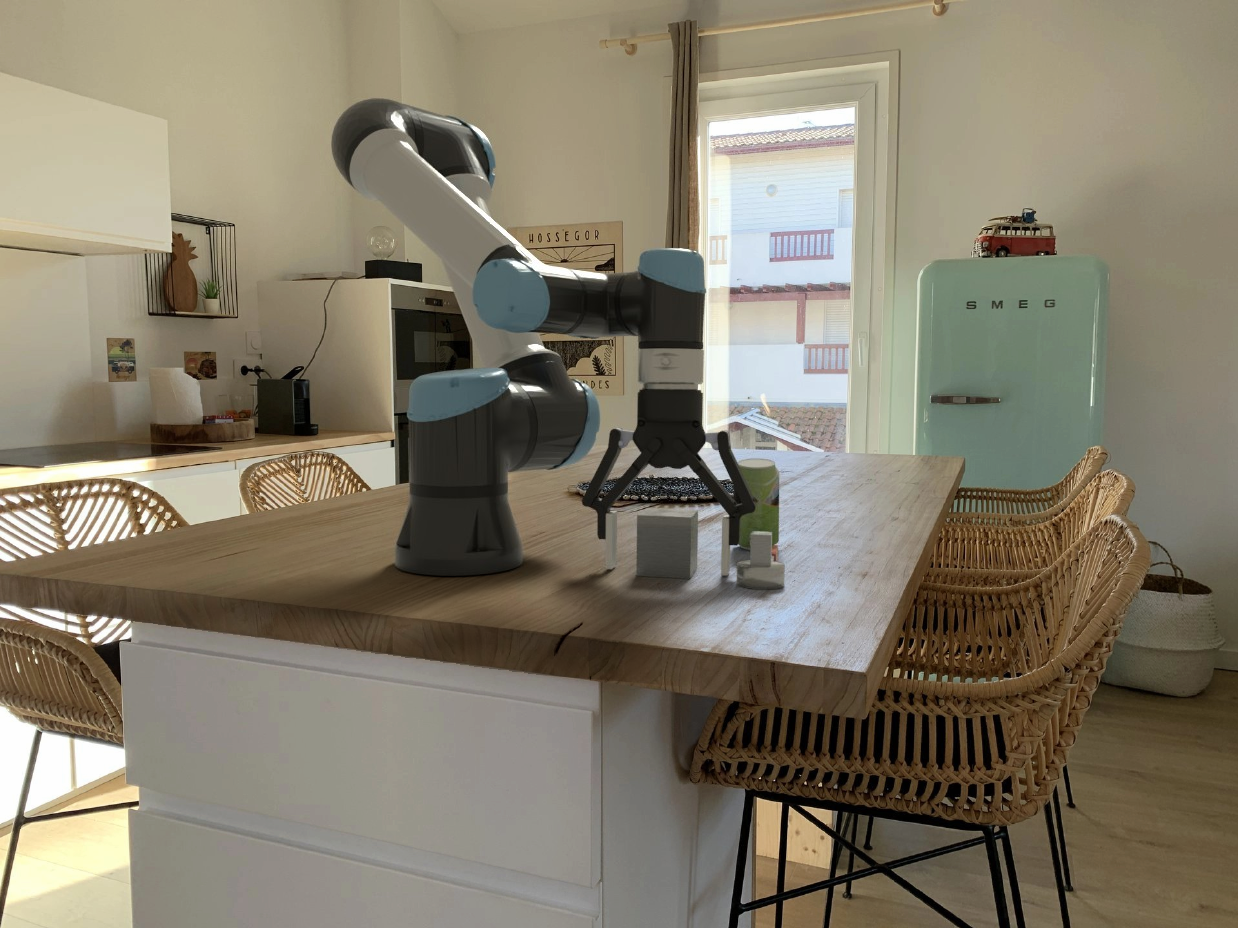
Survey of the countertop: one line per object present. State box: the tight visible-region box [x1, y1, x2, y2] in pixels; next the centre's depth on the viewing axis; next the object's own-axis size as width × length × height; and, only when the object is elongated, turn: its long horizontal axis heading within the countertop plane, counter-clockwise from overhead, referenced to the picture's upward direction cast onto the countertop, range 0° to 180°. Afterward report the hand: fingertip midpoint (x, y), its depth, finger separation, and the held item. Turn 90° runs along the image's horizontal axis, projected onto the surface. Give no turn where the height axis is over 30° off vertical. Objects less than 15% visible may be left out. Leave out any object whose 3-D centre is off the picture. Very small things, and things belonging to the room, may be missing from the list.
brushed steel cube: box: [635, 507, 699, 580], centre depth 108 cm, size 6×6×7 cm
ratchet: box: [736, 531, 786, 591], centre depth 108 cm, size 5×17×6 cm, turn 168°
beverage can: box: [732, 458, 780, 551], centre depth 123 cm, size 6×7×12 cm
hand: (667, 570), depth 108 cm, fingers open, 13 cm apart
